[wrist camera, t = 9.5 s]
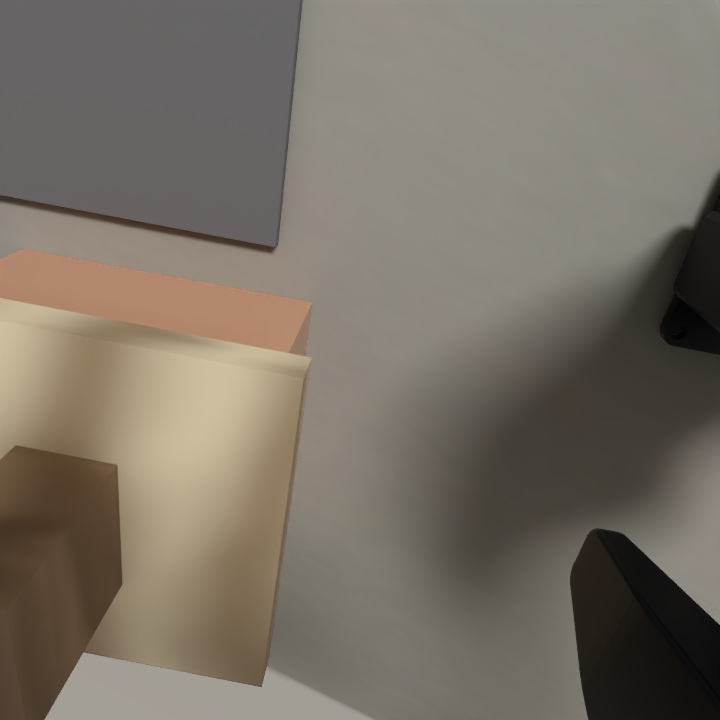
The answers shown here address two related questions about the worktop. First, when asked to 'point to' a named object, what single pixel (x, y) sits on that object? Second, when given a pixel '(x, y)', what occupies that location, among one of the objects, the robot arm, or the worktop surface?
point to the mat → (151, 109)
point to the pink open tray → (156, 301)
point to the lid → (138, 499)
